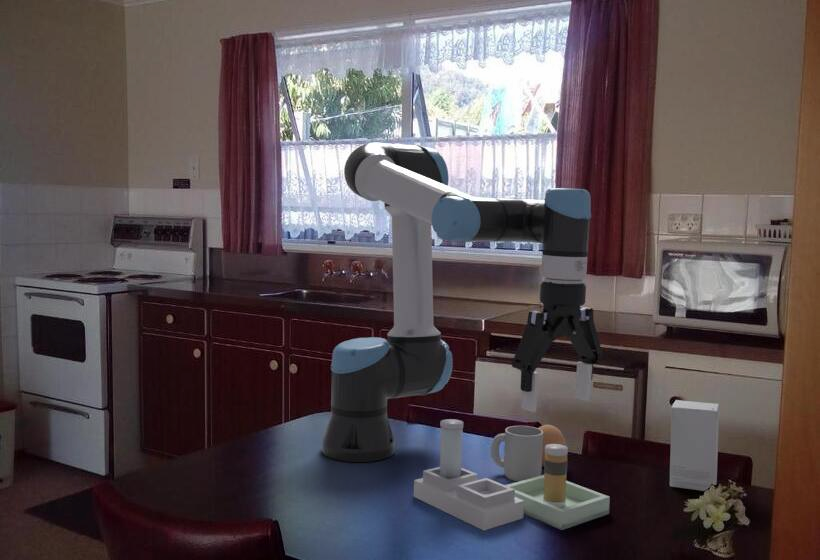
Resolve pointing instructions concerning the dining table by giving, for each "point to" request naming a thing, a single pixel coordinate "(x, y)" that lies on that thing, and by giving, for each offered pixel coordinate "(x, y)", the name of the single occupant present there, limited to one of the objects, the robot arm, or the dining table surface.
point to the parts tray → (577, 506)
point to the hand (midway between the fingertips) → (556, 405)
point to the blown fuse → (555, 474)
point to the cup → (519, 452)
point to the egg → (551, 438)
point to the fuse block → (465, 487)
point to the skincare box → (694, 445)
